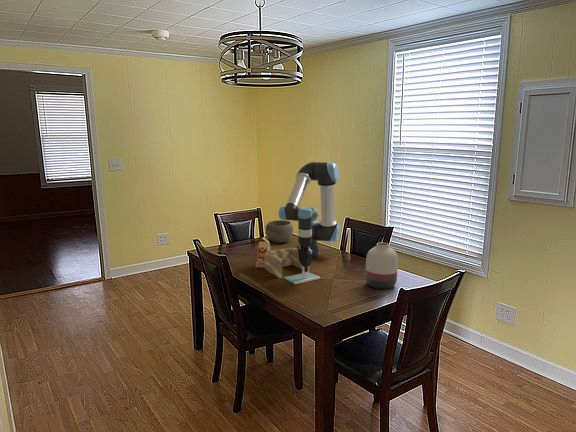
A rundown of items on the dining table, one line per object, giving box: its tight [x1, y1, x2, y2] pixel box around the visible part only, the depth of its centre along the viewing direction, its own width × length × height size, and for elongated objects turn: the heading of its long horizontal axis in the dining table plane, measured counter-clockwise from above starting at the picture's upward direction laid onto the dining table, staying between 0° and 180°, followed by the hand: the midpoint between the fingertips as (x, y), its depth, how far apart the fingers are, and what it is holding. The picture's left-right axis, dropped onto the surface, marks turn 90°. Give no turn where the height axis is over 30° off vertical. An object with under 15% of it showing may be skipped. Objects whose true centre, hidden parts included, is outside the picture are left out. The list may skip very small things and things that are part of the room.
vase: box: [365, 241, 399, 290], centre depth 233 cm, size 17×17×24 cm
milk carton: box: [255, 236, 272, 269], centre depth 264 cm, size 9×9×20 cm
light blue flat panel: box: [281, 271, 321, 285], centre depth 243 cm, size 18×1×13 cm
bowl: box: [265, 219, 294, 244], centre depth 323 cm, size 21×21×15 cm
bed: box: [264, 247, 310, 279], centre depth 255 cm, size 20×18×12 cm
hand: (304, 276), depth 240 cm, fingers closed
